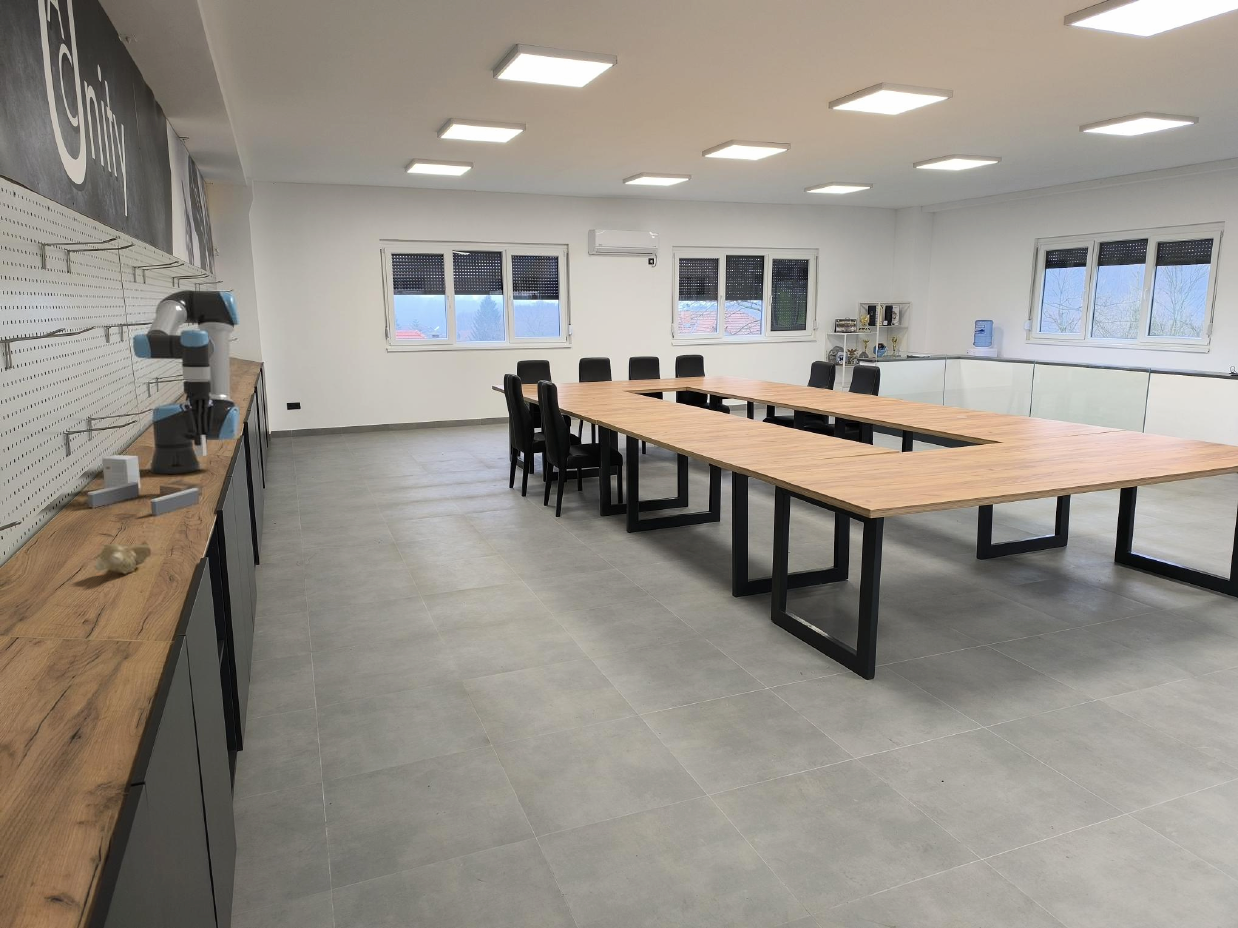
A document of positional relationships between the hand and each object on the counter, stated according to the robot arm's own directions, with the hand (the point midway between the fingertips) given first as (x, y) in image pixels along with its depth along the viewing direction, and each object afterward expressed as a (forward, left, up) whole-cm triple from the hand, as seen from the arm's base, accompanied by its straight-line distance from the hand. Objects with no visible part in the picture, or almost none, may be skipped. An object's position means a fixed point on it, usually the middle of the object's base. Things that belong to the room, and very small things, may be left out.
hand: (201, 455), depth 253 cm
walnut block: (+9, 0, -12) cm, 15 cm away
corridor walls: (+23, 0, -11) cm, 25 cm away
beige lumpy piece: (+71, +41, -11) cm, 83 cm away
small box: (+10, -21, -11) cm, 26 cm away
